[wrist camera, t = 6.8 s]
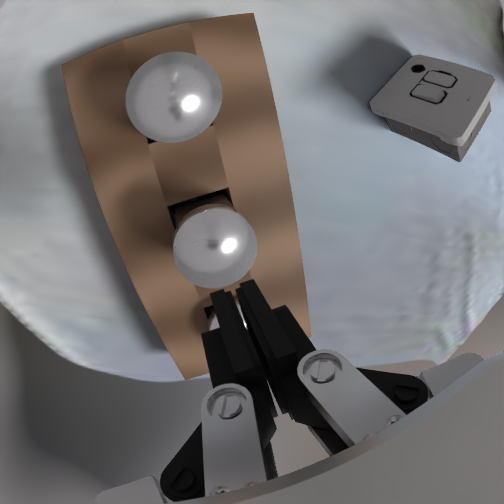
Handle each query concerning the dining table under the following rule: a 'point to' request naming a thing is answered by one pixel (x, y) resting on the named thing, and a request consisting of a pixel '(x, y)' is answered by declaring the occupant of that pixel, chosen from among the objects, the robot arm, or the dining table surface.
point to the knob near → (173, 97)
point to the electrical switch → (436, 104)
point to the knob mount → (189, 174)
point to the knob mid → (213, 242)
